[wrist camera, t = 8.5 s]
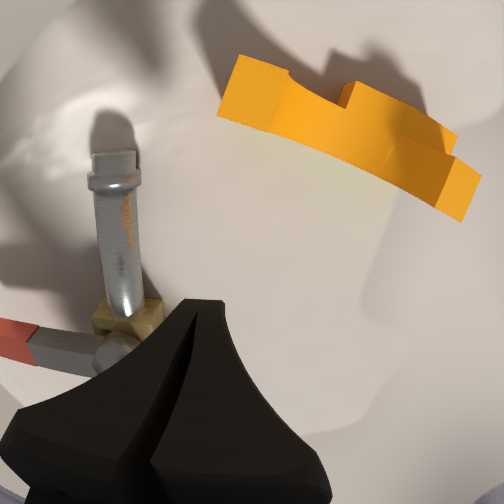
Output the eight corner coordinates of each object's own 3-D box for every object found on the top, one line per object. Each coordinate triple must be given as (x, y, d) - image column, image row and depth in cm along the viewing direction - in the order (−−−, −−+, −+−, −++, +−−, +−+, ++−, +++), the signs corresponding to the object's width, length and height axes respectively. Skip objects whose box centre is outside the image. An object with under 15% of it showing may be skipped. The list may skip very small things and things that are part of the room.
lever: (141, 334, 19) (132, 355, 17) (149, 369, 20) (142, 390, 18) (-5, 312, 18) (-19, 326, 17) (8, 343, 20) (-3, 358, 18)
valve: (172, 382, 25) (165, 409, 22) (125, 375, 25) (115, 401, 22) (157, 148, 17) (139, 155, 15) (93, 150, 17) (67, 158, 14)
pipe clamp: (429, 131, 17) (493, 144, 11) (406, 189, 19) (461, 222, 13) (254, 49, 15) (255, 16, 9) (228, 116, 17) (216, 116, 11)
